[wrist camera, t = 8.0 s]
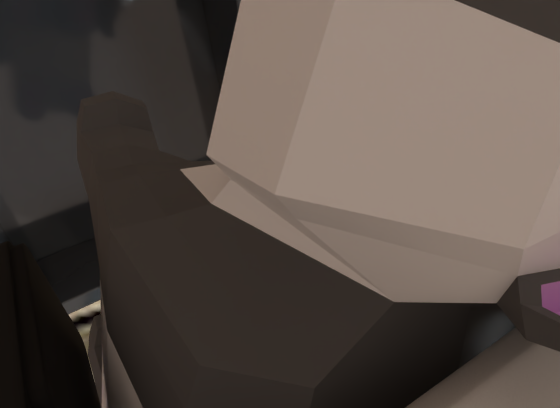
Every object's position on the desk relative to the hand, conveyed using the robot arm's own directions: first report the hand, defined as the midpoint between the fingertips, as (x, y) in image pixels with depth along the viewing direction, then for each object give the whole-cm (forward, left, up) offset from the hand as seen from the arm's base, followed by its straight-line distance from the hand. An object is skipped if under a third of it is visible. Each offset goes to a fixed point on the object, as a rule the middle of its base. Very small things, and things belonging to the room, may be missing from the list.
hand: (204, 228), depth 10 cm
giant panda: (0, 0, -2) cm, 2 cm away
